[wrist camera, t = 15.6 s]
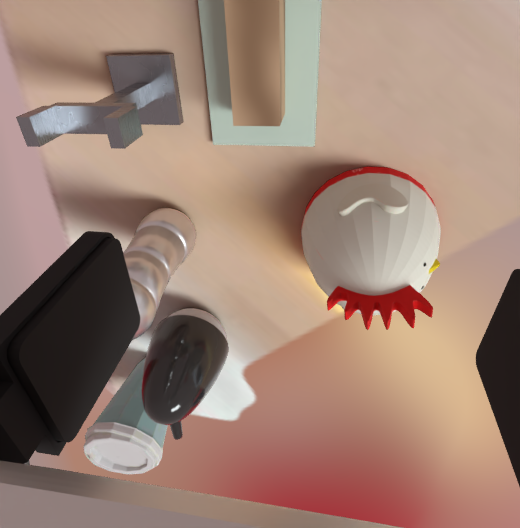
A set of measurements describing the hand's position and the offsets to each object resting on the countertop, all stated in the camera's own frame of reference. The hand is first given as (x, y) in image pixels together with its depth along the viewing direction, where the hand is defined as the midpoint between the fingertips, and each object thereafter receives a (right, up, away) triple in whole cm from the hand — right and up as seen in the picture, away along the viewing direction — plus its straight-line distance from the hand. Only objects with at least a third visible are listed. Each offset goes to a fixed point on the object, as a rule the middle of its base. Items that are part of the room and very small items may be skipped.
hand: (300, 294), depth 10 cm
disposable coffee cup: (-17, -16, +53) cm, 58 cm away
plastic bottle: (-11, +5, +36) cm, 38 cm away
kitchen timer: (+11, +5, +32) cm, 35 cm away
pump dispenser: (-9, -8, +46) cm, 47 cm away
